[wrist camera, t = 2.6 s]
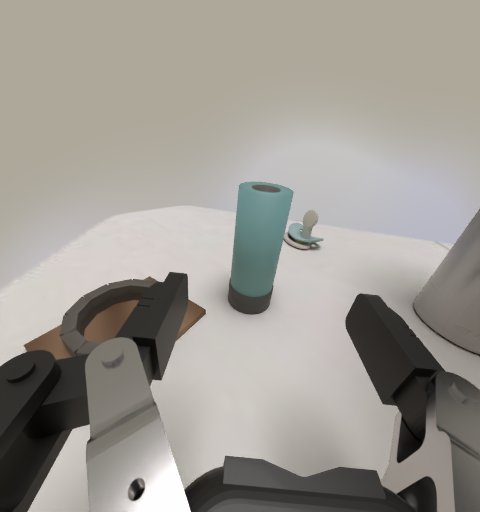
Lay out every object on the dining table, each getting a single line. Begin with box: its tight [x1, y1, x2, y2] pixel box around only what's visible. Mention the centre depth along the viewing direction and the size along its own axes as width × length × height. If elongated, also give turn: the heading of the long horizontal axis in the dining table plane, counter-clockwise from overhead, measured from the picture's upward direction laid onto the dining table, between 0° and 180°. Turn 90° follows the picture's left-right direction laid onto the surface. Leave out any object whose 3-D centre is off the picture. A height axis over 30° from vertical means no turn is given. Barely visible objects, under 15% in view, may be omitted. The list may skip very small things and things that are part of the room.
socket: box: [24, 276, 206, 360], centre depth 19 cm, size 12×9×3 cm
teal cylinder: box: [228, 182, 293, 314], centre depth 22 cm, size 5×5×13 cm
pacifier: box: [283, 210, 323, 249], centre depth 39 cm, size 7×6×6 cm
